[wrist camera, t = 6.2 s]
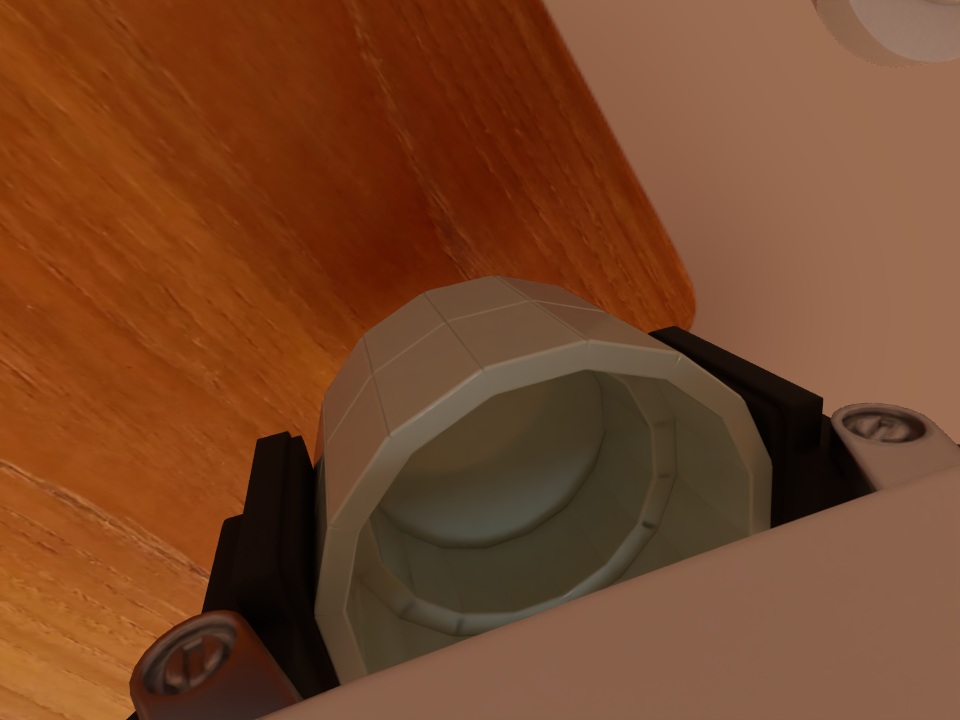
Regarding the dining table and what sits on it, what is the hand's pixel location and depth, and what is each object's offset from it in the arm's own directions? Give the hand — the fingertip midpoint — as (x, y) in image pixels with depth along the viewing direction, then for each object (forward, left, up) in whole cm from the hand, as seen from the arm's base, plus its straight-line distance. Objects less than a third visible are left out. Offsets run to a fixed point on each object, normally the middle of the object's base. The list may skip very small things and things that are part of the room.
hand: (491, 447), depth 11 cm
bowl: (0, 0, -1) cm, 1 cm away
